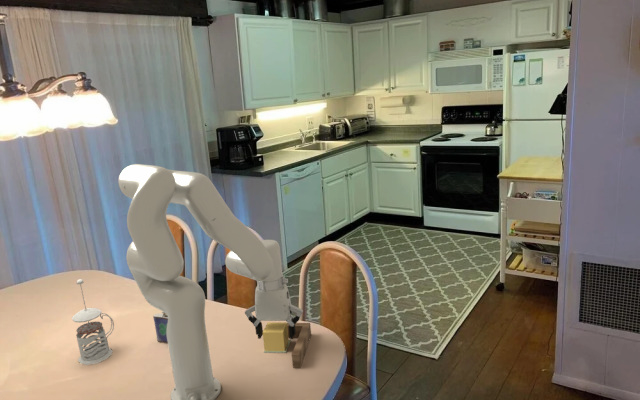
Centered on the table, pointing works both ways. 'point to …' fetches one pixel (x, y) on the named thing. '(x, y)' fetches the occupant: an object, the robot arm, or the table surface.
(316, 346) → the table surface
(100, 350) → the french press
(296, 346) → the brown l-shaped piece
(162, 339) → the purple clover tin
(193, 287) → the robot arm
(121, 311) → the table surface
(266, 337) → the cube
